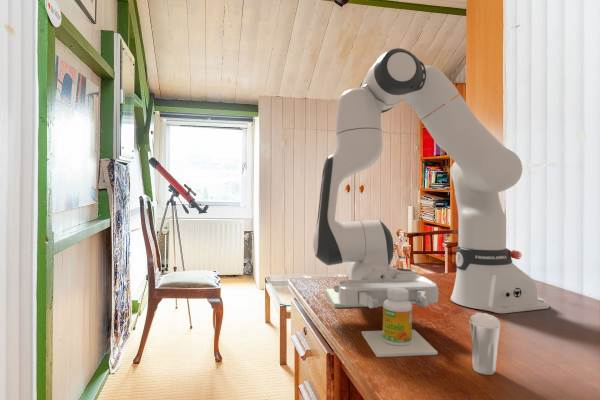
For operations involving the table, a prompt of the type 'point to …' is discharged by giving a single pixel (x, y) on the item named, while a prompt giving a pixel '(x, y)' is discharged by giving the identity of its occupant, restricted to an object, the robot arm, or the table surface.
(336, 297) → the well board
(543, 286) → the table surface
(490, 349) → the milkshake
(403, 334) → the supplement bottle
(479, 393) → the table surface
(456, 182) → the robot arm
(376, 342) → the mat
